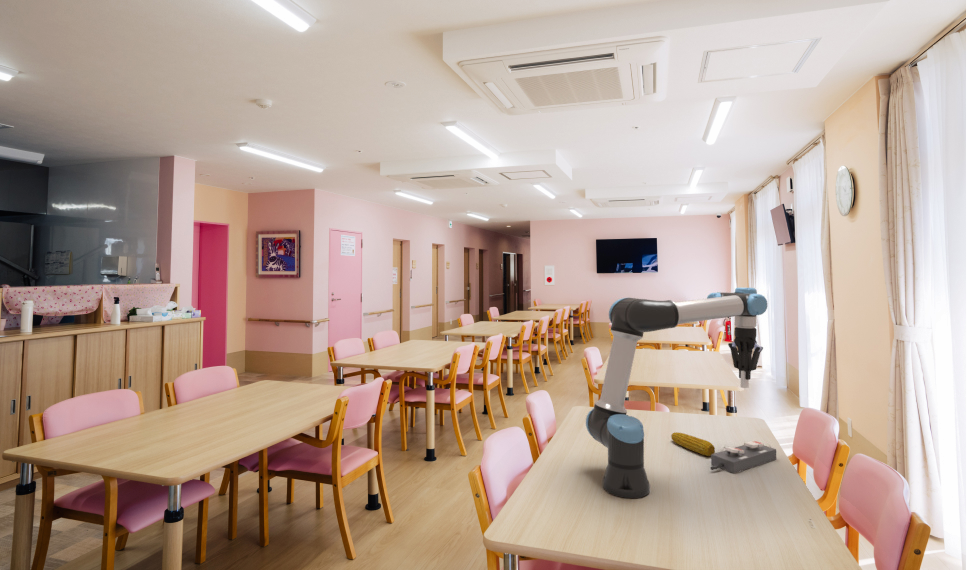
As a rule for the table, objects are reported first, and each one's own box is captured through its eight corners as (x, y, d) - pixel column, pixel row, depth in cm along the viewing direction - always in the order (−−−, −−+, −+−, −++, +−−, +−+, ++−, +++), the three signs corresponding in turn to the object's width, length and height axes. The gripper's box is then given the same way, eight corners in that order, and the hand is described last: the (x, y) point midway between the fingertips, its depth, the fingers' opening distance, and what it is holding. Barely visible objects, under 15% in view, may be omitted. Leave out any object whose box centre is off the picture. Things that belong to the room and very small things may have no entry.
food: (717, 457, 186) (717, 442, 186) (706, 459, 183) (706, 444, 183) (676, 440, 205) (675, 426, 205) (666, 442, 203) (666, 428, 203)
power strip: (723, 477, 167) (722, 463, 167) (700, 468, 175) (700, 454, 175) (776, 459, 182) (776, 446, 182) (753, 452, 190) (753, 439, 190)
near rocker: (733, 452, 174) (733, 449, 174) (723, 449, 177) (723, 446, 177) (744, 453, 177) (744, 450, 177) (734, 450, 180) (735, 447, 180)
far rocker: (752, 448, 179) (753, 445, 179) (743, 445, 182) (743, 442, 183) (764, 446, 182) (764, 443, 182) (754, 443, 186) (754, 440, 186)
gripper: (767, 328, 180) (767, 389, 180) (735, 325, 191) (734, 383, 192) (755, 329, 176) (754, 391, 177) (723, 325, 188) (723, 384, 188)
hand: (744, 387), depth 184 cm, fingers closed
